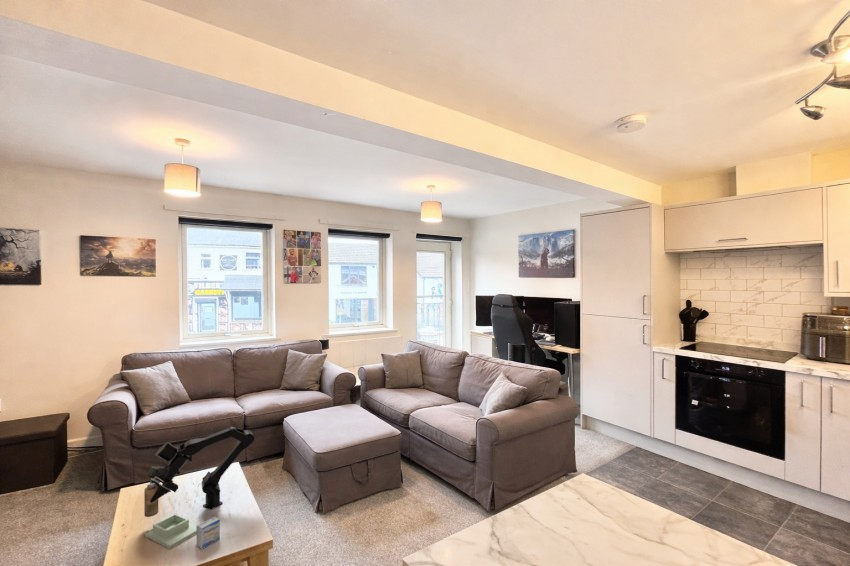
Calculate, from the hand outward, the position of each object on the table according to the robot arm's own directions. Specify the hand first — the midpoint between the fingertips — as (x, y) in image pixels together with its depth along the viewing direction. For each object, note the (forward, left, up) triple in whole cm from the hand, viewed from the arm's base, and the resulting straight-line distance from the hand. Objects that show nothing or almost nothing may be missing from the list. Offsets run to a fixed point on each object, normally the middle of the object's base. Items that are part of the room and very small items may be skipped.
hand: (147, 500), depth 177 cm
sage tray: (-14, -3, -12) cm, 19 cm away
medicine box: (-33, -6, -13) cm, 36 cm away
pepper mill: (0, -1, -7) cm, 7 cm away
